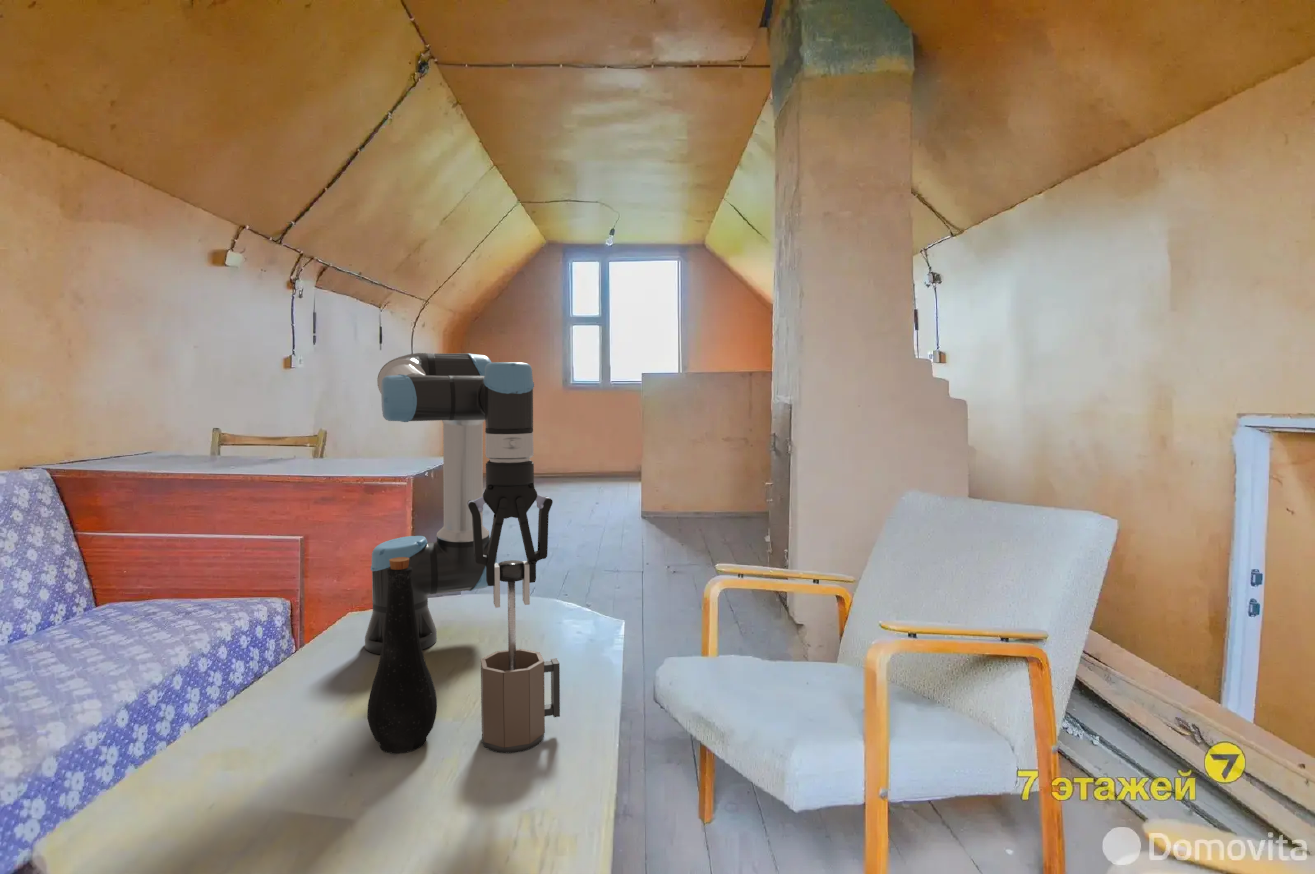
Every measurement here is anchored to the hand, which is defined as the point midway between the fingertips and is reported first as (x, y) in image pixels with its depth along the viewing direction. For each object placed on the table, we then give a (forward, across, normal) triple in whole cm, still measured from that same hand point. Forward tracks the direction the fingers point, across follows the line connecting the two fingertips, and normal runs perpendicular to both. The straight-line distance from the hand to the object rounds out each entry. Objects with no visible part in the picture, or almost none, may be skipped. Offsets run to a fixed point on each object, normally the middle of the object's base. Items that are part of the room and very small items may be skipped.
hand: (511, 603), depth 117 cm
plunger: (+14, 0, 0) cm, 14 cm away
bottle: (+23, -17, +4) cm, 29 cm away
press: (+22, +1, 0) cm, 22 cm away
